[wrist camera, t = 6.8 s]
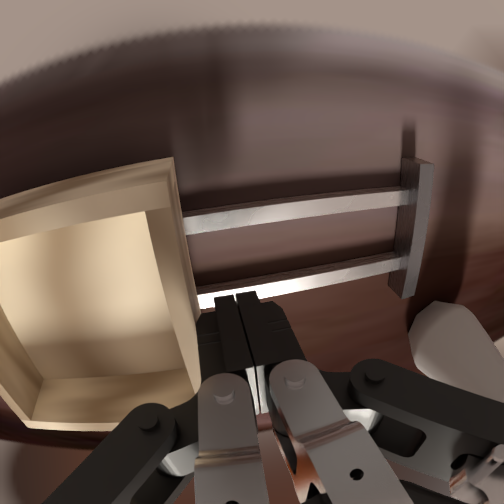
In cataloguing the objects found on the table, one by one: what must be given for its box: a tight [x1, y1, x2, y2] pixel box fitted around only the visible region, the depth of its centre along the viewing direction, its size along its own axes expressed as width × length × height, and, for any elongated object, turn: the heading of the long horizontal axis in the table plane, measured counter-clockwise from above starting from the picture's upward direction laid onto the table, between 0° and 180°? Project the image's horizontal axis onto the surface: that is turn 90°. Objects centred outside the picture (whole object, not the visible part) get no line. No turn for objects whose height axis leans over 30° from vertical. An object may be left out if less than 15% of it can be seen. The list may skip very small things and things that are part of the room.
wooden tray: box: [0, 157, 201, 431], centre depth 12 cm, size 10×10×5 cm
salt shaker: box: [408, 301, 504, 403], centre depth 16 cm, size 6×6×13 cm
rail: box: [182, 157, 434, 309], centre depth 14 cm, size 28×9×2 cm, turn 94°
